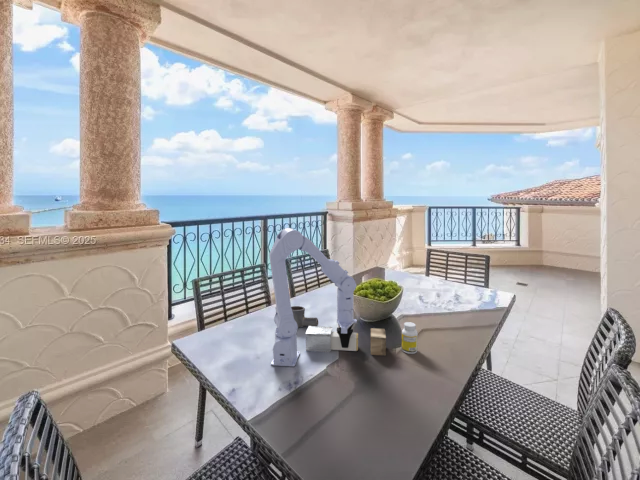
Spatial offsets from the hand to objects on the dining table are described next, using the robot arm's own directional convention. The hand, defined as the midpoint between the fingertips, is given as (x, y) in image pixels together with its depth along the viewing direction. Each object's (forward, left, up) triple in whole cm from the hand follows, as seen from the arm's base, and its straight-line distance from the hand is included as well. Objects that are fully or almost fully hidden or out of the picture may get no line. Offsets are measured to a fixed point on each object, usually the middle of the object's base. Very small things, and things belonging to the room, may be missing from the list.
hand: (345, 344), depth 116 cm
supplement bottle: (+1, -22, -2) cm, 23 cm away
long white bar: (0, +4, -1) cm, 4 cm away
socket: (0, -12, -2) cm, 12 cm away
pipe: (+18, +19, -2) cm, 26 cm away
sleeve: (0, +9, -2) cm, 9 cm away
